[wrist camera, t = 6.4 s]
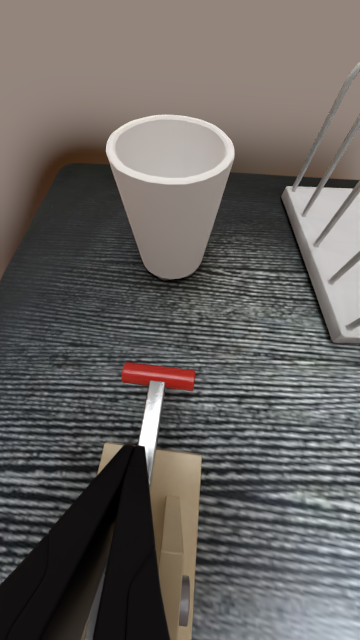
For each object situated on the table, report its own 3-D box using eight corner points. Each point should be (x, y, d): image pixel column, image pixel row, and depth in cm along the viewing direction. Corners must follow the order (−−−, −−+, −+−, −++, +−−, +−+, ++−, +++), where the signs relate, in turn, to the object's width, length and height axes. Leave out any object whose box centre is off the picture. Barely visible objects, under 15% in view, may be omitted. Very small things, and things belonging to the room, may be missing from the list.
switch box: (108, 441, 18) (59, 456, 10) (200, 453, 18) (221, 477, 10) (68, 615, 14) (-73, 875, 6) (189, 634, 14) (211, 928, 6)
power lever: (129, 368, 16) (124, 356, 14) (192, 376, 16) (196, 365, 14) (68, 613, 10) (42, 654, 8) (173, 629, 10) (173, 675, 8)
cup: (121, 279, 26) (80, 165, 14) (149, 226, 30) (134, 106, 19) (199, 300, 25) (221, 195, 13) (216, 242, 29) (244, 125, 18)
